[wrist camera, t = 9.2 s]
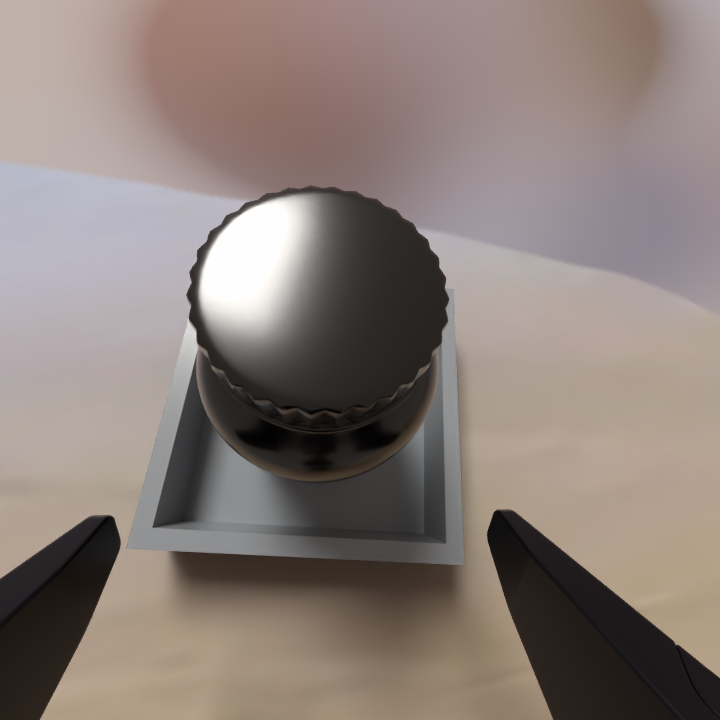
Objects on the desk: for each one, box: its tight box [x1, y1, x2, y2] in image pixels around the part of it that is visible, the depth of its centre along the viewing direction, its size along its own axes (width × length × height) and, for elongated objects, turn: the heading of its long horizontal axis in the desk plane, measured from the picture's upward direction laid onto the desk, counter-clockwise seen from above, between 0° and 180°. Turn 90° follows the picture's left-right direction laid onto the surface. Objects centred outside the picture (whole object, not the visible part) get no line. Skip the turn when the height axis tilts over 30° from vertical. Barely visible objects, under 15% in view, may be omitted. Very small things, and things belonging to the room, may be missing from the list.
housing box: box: [126, 288, 464, 565], centre depth 16 cm, size 12×12×4 cm
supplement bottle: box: [186, 186, 449, 483], centre depth 12 cm, size 7×7×12 cm
